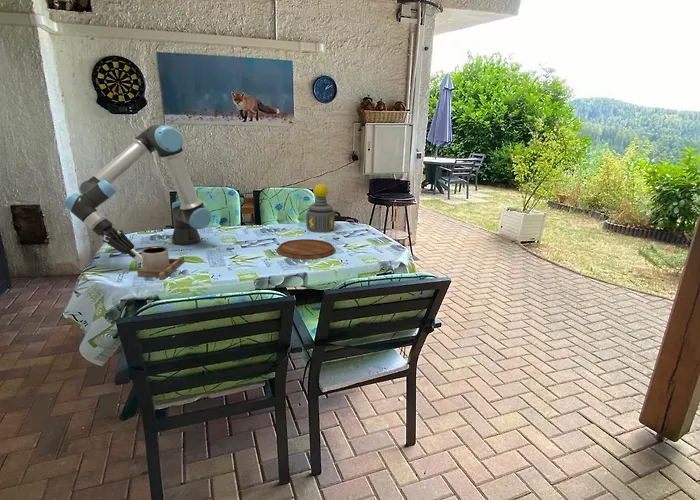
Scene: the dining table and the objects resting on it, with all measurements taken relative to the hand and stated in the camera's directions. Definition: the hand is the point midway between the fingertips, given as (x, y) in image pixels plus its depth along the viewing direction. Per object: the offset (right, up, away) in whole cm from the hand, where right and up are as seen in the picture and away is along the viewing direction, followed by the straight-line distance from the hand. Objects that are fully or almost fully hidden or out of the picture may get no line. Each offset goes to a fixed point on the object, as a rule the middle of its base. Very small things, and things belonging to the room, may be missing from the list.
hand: (141, 260), depth 180 cm
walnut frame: (+8, -4, +1) cm, 9 cm away
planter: (+6, -4, +1) cm, 8 cm away
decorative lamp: (+75, +19, +84) cm, 114 cm away
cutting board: (+70, +4, +39) cm, 80 cm away
